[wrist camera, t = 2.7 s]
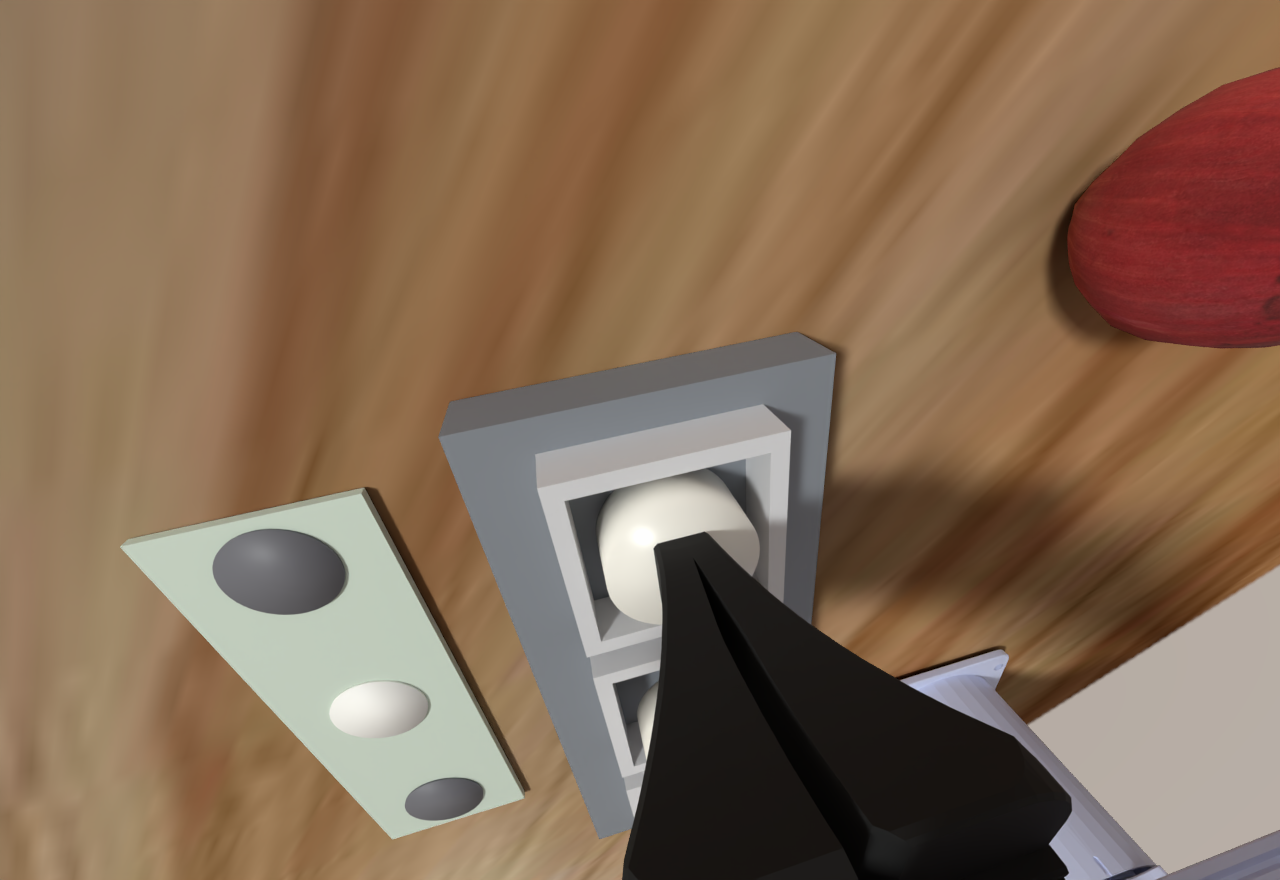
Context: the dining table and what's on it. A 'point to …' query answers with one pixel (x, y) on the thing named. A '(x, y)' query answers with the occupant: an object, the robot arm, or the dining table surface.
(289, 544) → the card
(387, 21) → the dining table surface
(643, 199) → the dining table surface
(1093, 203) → the onion
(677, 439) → the button board
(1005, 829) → the robot arm
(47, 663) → the dining table surface
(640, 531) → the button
